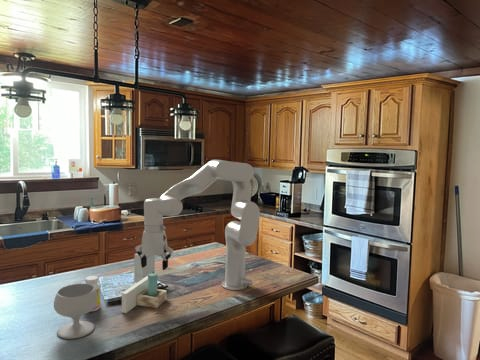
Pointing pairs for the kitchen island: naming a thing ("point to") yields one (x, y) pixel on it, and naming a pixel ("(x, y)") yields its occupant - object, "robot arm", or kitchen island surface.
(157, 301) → the light wooden square frame
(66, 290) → the chalice
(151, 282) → the dowel
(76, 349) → the kitchen island surface
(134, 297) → the wall
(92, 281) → the supplement bottle
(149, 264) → the skincare box
